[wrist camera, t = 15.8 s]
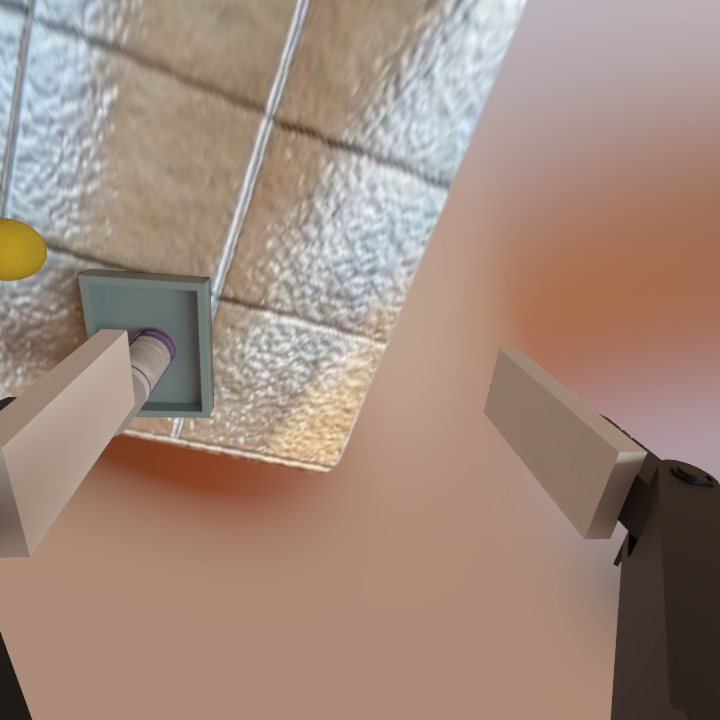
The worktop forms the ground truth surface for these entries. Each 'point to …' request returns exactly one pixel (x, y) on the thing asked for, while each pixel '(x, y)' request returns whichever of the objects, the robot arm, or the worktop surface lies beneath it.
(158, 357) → the container
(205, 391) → the tray
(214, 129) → the worktop surface
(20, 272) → the lemon
